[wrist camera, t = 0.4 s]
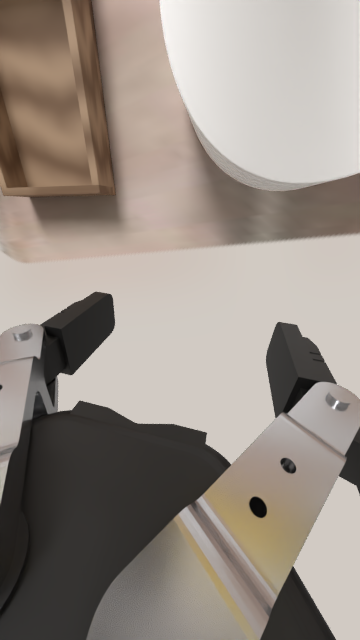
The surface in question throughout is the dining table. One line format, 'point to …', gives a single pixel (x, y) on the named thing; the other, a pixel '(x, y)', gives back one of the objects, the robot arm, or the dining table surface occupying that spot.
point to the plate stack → (270, 86)
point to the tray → (51, 101)
